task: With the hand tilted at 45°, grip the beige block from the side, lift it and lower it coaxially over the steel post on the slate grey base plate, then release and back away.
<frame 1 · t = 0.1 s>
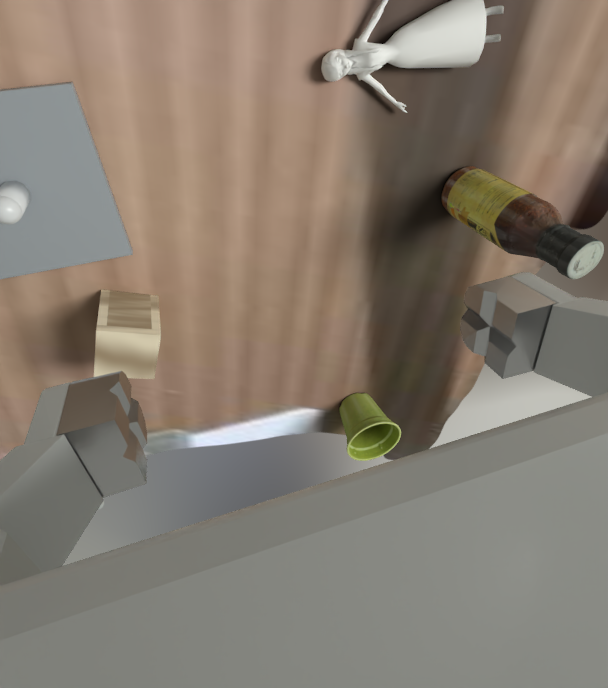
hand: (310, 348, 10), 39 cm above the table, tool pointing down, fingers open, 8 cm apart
plant pot: (354, 403, 75), on the table
beige block: (128, 314, 51), on the table
sauce bottle: (460, 189, 54), on the table
woman figurine: (400, 44, 42), on the table
post base: (18, 190, 40), on the table
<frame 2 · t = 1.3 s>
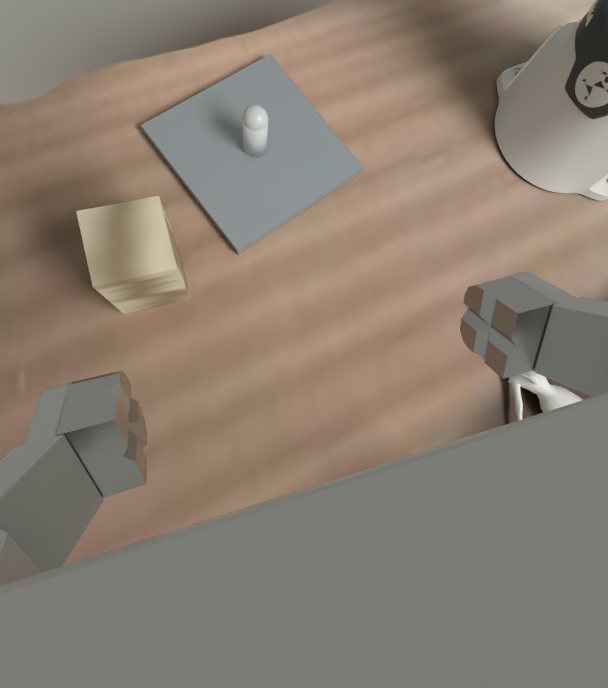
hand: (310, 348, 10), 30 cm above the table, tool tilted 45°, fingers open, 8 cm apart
beige block: (150, 275, 40), on the table
woman figurine: (548, 408, 43), on the table
post base: (254, 153, 44), on the table
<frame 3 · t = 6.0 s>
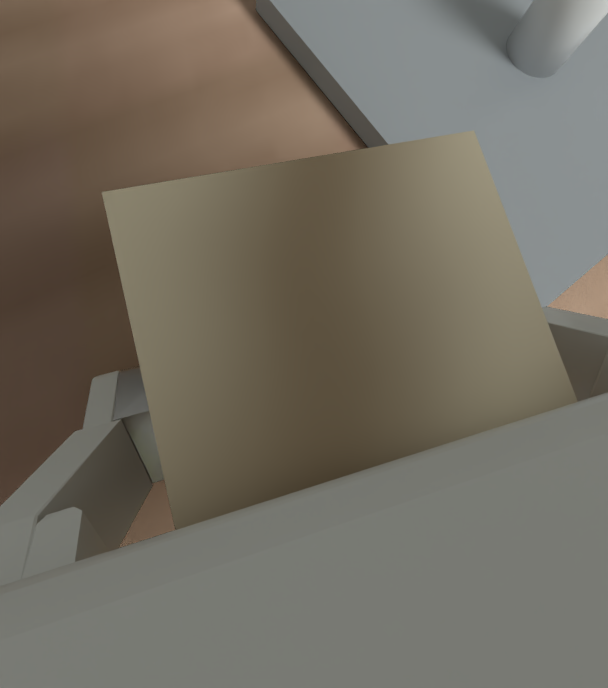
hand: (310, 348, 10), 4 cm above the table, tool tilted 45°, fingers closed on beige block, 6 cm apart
beige block: (295, 391, 14), on the table, touching gripper
post base: (518, 72, 18), on the table
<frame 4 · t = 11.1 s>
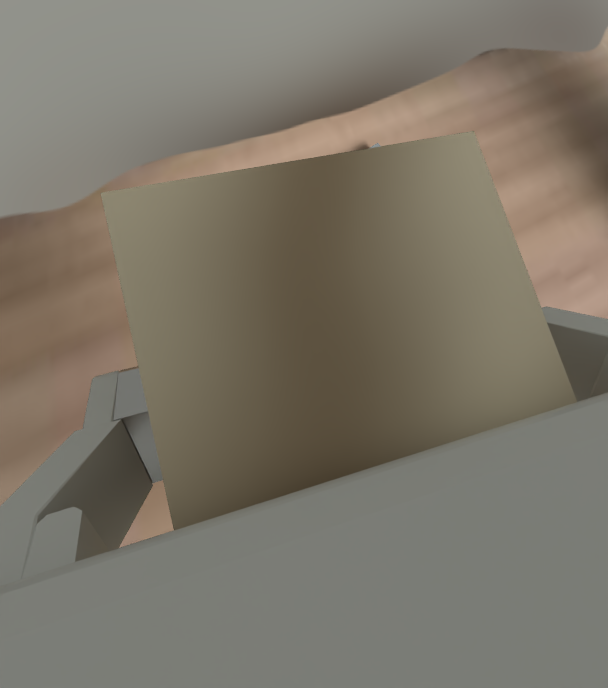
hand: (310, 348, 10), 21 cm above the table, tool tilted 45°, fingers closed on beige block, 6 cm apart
beige block: (295, 392, 14), point 16 cm above the table, touching gripper
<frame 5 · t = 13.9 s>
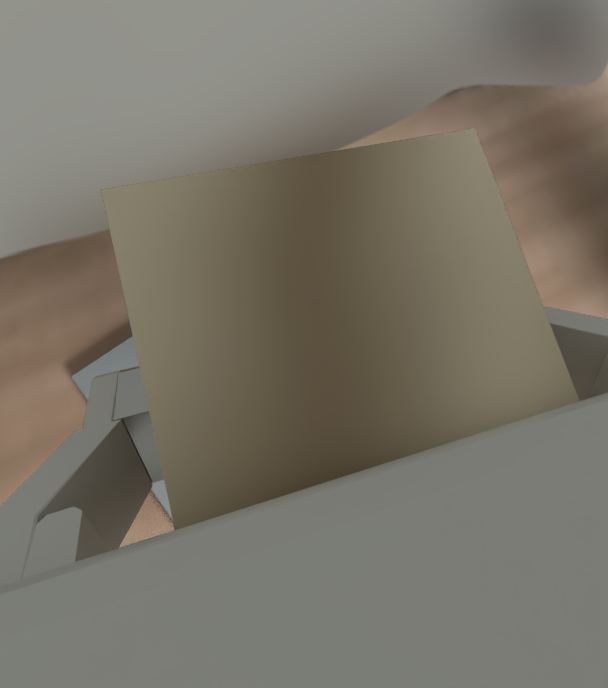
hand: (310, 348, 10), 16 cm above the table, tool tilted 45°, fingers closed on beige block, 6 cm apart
beige block: (295, 390, 14), point 11 cm above the table, touching gripper
post base: (276, 405, 25), on the table
when the fingers open (7 cm above the table, at t = 16.4 s): beige block drops 1 cm, resting on post base.
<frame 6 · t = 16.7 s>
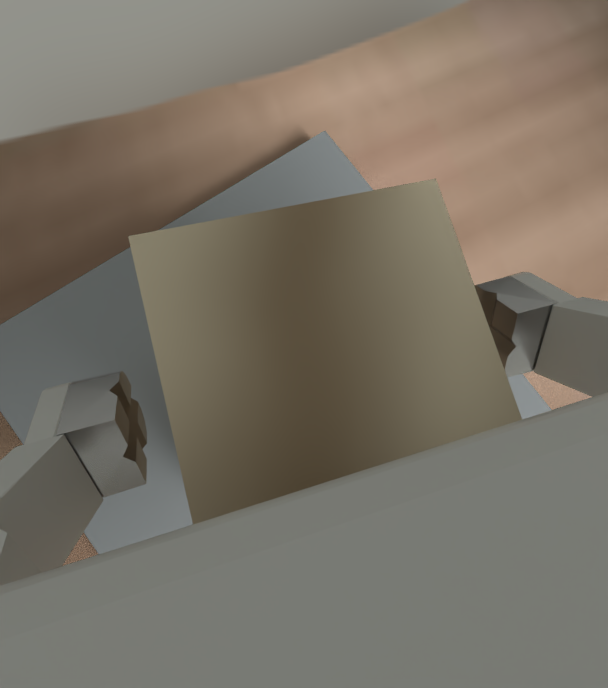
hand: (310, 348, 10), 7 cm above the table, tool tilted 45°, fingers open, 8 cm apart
beige block: (290, 394, 15), point 1 cm above the table, touching post base
post base: (287, 397, 16), on the table
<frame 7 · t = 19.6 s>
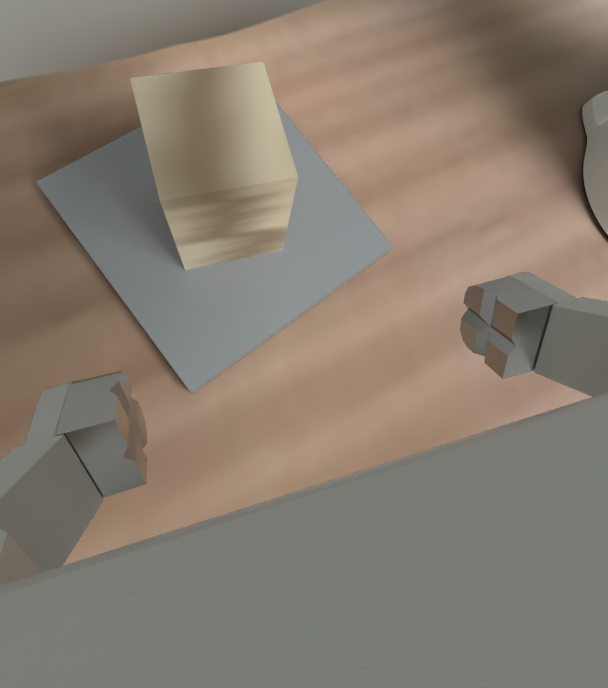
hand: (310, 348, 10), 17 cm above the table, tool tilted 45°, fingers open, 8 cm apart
beige block: (222, 215, 27), point 1 cm above the table, touching post base
post base: (223, 223, 28), on the table
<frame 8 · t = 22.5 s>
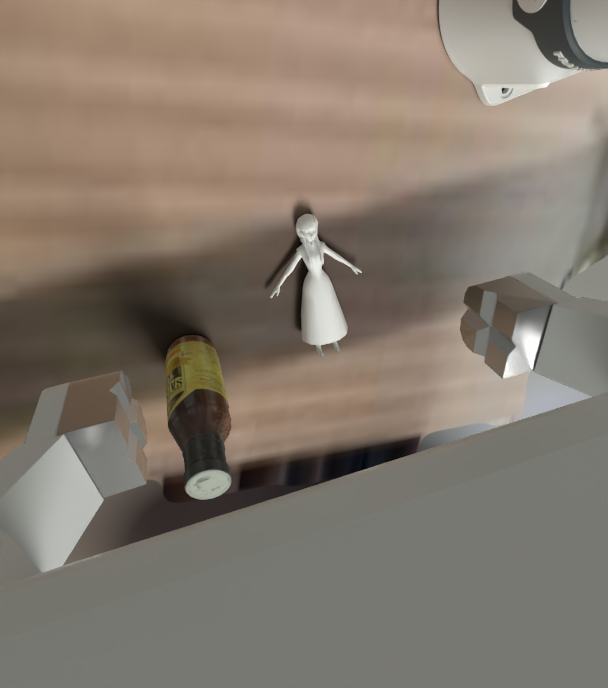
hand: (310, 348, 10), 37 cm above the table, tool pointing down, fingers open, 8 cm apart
sauce bottle: (191, 353, 52), on the table
woman figurine: (312, 281, 52), on the table
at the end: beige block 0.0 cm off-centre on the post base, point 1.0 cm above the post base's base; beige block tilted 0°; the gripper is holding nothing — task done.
